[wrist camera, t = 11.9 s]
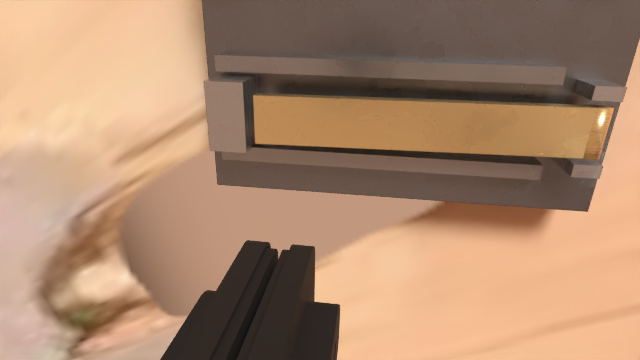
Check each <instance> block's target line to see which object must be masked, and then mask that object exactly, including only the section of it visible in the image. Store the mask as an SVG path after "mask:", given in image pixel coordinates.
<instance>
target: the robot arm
mask: <svg viewBox="0 0 640 360" xmlns="http://www.w3.org/2000/svg"><path fill="white" fill-rule="evenodd" d="M314 288H315V247H313V246H303V245H292V246H291V247H290V250H282V252H281V255H280V257H279V259H278V251H277V249H271V246H270V243H269V242H260V241H249V240H248V241H246V242H245V243H244V245H243V247H242V248H241V250H240V252H239V253H238V255H237V257H236V259H235V260H234V262H233V263H232V265H231V267H230V268H229V270H228V272H227V274H226V275H225V277H224V279H223V280H222V282H221V284H220V285H219V287H218V289H217V291H210V290H207V291H205V292H204V293H203V294H202V295H201V297H200V298H199V300H198V302H197V303H196V305H195V306H194V308H193V309H192V311H191V312H190V314H189V316H188V317H187V319H186V320H185V322H184V323H183V325H182V327H181V328H180V330H179V331H178V333H177V334H176V336H175V338H174V339H173V341H172V342H171V344H170V345H169V347H168V349H167V350H166V352H165V353H164V355H163V356H162V358H161V360H337V351H338V339H339V321H340V305H339V304H330V303H320V302H314Z"/></svg>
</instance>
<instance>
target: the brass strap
mask: <svg viewBox="0 0 640 360" xmlns="http://www.w3.org/2000/svg"><path fill="white" fill-rule="evenodd" d="M253 104H254V127H255V144H275V145H297V146H318V147H340V148H362V149H384V150H406V151H428V152H450V153H471V154H493V155H515V156H537V157H559V158H581V159H587V160H598V159H599V158H600V154H601V151H602V148H603V144H604V141H605V137H606V134H607V131H608V127H609V124H610V121H611V117H612V114H613V110H614V108H613V107H610V106H606V105H596V104H593V105H577V104H550V103H522V102H495V101H467V100H440V99H412V98H385V97H357V96H330V95H302V94H275V93H255V94H254V95H253Z"/></svg>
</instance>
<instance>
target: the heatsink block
mask: <svg viewBox="0 0 640 360" xmlns="http://www.w3.org/2000/svg"><path fill="white" fill-rule="evenodd" d="M202 5H203V17H204V29H205V41H206V53H207V65H208V77H209V79H208V80H205V81H204V89H205V100H206V112H207V123H208V134H209V145H210V151H215V160H216V172H217V184H218V185H230V186H244V187H258V188H271V189H285V190H298V191H312V192H327V193H341V194H353V195H367V196H380V197H395V198H408V199H422V200H435V201H449V202H463V203H476V204H490V205H504V206H517V207H531V208H545V209H558V210H572V211H586V212H588V209H589V205H590V202H591V199H592V195H593V192H594V189H595V185H596V182H597V179H599V178H600V175H601V172H602V168H603V166H602V162H603V159H604V155H605V152H606V149H607V145H608V142H609V139H610V135H611V132H612V129H613V126H614V122H615V119H616V116H617V112H618V109H619V106H620V102H623V99H624V96H625V92H626V89H627V87H625V86H626V82H627V79H628V76H629V72H630V69H631V66H632V62H633V59H634V56H635V52H636V49H637V46H638V42H639V39H640V0H202ZM255 93H275V94H302V95H330V96H357V97H385V98H412V99H440V100H467V101H495V102H522V103H550V104H577V105H593V104H596V105H606V106H610V107H613V108H614V110H613V114H612V117H611V121H610V124H609V127H608V131H607V134H606V137H605V141H604V144H603V148H602V151H601V154H600V158H599V159H598V160H587V159H581V158H559V157H537V156H515V155H493V154H471V153H450V152H428V151H406V150H384V149H362V148H340V147H318V146H297V145H275V144H255V127H254V104H253V95H254V94H255Z"/></svg>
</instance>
